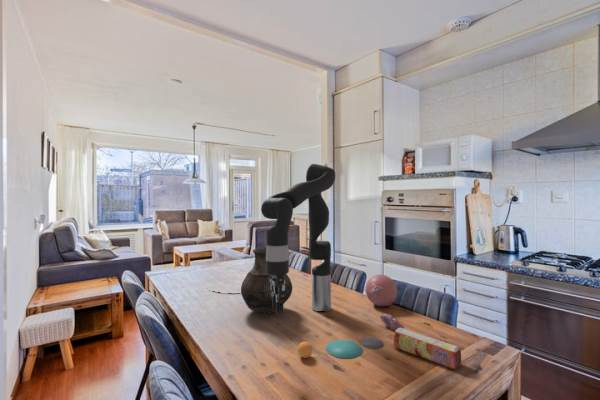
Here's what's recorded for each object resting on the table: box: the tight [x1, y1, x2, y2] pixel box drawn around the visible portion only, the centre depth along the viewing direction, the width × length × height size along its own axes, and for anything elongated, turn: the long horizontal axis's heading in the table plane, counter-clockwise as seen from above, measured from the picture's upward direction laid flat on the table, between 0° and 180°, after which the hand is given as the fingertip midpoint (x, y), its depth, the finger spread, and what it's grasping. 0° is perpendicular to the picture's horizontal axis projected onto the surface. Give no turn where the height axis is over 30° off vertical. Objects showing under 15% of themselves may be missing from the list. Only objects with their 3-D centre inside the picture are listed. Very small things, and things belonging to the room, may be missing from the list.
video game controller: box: [379, 313, 405, 332], centre depth 124 cm, size 10×5×7 cm, turn 21°
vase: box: [240, 247, 293, 314], centre depth 143 cm, size 25×25×30 cm
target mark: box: [325, 339, 363, 360], centre depth 107 cm, size 13×13×1 cm
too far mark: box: [361, 337, 385, 349], centre depth 111 cm, size 8×8×1 cm
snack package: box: [393, 328, 462, 371], centre depth 102 cm, size 21×7×7 cm, turn 45°
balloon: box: [364, 274, 398, 307], centre depth 149 cm, size 15×20×15 cm
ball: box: [297, 341, 313, 359], centre depth 102 cm, size 5×5×5 cm
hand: (277, 310), depth 98 cm, fingers open, 4 cm apart
